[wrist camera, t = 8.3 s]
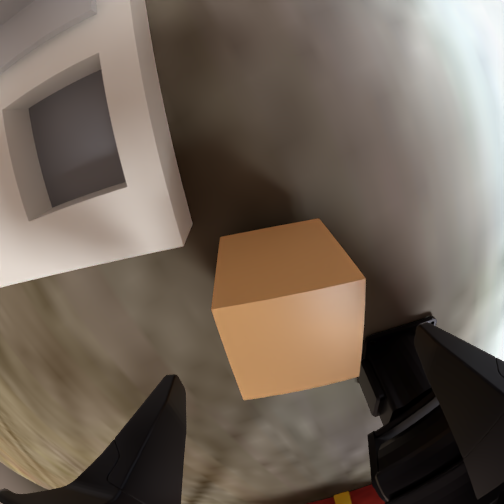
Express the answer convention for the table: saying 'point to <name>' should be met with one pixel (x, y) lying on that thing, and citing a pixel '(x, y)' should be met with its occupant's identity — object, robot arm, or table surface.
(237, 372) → the plug
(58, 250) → the socket plate
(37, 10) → the grey ridged plate
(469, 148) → the table surface
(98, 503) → the robot arm
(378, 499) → the gift box
